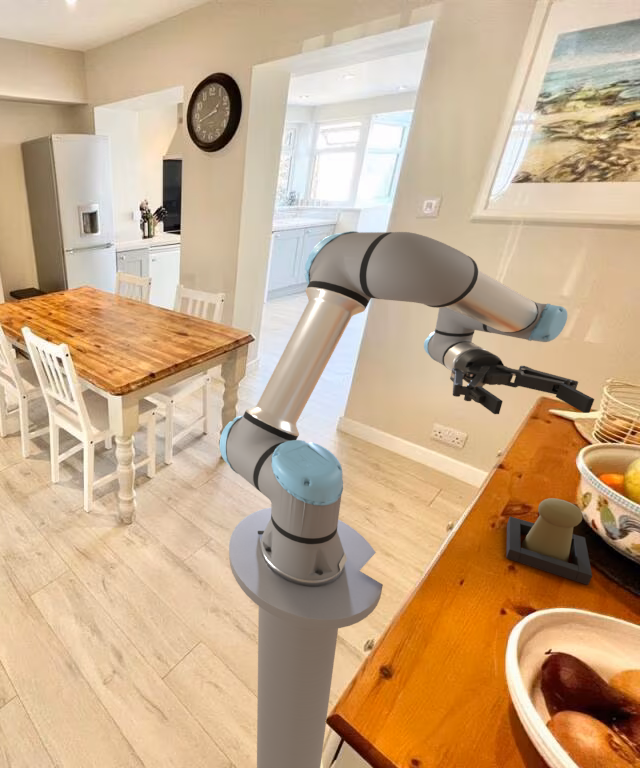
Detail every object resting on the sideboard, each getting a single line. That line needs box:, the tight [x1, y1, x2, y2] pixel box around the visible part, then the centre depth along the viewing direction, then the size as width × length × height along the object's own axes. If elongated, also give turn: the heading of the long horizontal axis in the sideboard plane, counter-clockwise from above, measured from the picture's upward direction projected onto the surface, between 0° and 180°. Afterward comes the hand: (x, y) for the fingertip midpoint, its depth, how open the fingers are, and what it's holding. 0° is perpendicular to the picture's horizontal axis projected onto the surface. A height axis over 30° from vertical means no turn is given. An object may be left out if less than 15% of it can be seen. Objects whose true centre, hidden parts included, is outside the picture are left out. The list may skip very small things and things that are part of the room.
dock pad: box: [506, 516, 593, 586], centre depth 72 cm, size 10×10×2 cm
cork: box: [521, 497, 583, 563], centre depth 70 cm, size 6×6×11 cm
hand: (543, 407), depth 72 cm, fingers open, 13 cm apart
